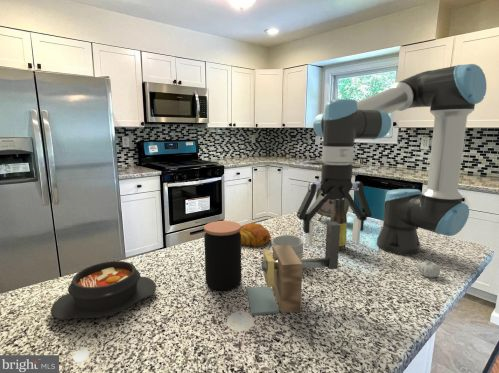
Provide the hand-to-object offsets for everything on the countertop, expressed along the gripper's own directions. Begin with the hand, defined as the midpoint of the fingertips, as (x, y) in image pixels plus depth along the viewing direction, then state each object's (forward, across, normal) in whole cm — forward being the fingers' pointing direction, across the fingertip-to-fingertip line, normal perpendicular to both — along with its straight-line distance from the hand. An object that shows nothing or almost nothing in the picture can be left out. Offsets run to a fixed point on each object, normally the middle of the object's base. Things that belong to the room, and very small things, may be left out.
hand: (332, 243), depth 77 cm
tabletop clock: (+16, +27, +64) cm, 71 cm away
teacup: (+16, -6, +24) cm, 29 cm away
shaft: (+7, -9, 0) cm, 11 cm away
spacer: (+10, -17, 0) cm, 20 cm away
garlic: (+16, +36, +7) cm, 40 cm away
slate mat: (+15, -19, 0) cm, 24 cm away
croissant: (+16, -16, +43) cm, 49 cm away
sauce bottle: (+16, +16, +32) cm, 39 cm away
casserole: (+16, -60, +4) cm, 62 cm away
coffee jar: (+16, -29, +10) cm, 34 cm away
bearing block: (+15, -12, 0) cm, 20 cm away
